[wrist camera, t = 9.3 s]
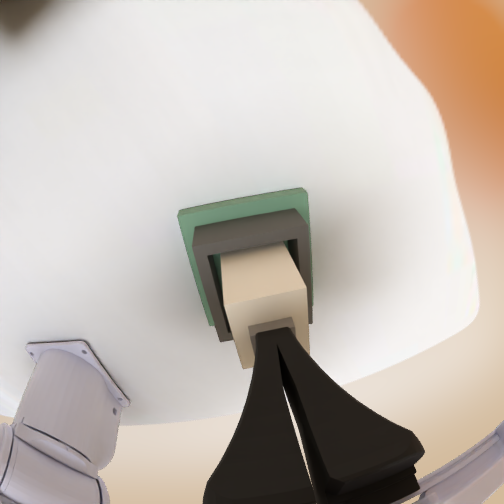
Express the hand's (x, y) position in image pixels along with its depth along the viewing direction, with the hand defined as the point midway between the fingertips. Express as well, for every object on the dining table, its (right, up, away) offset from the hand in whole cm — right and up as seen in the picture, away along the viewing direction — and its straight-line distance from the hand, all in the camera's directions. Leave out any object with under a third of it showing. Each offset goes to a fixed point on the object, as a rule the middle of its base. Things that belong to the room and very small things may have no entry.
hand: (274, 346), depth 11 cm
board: (-1, +3, +7) cm, 8 cm away
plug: (-1, +3, +6) cm, 7 cm away
